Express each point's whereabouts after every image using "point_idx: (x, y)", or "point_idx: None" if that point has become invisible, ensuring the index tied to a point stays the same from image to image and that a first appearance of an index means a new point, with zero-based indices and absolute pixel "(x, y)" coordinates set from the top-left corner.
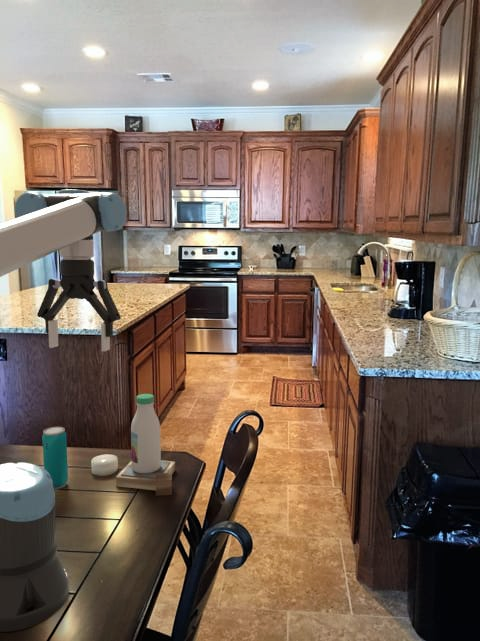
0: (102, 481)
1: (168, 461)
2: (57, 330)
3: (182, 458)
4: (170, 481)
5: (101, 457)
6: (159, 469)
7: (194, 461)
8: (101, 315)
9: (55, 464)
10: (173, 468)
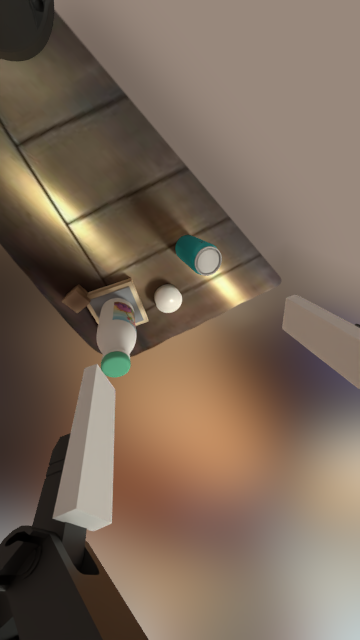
0: (150, 278)
1: None
2: (329, 363)
3: None
4: (63, 299)
5: (175, 302)
6: None
7: None
8: (59, 617)
9: (185, 243)
10: None
